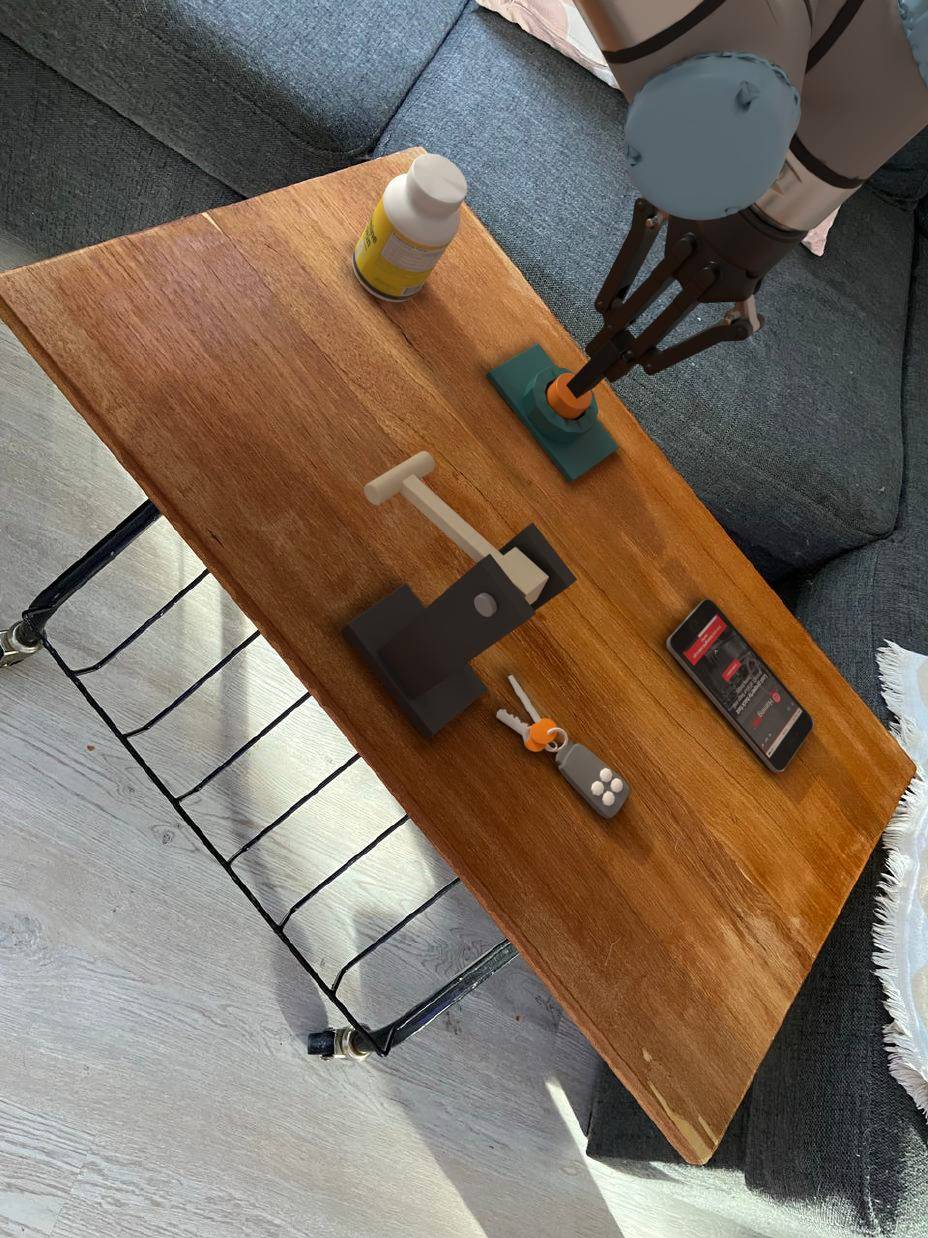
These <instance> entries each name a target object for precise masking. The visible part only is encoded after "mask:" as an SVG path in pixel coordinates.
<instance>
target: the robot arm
mask: <svg viewBox="0 0 928 1238" xmlns="http://www.w3.org/2000/svg"><path fill="white" fill-rule="evenodd" d="M571 1H572V3H573V4H574V6H575V8H576V10H577V11H578V14H579V15H580V17H581V18H582V20H583V22H584V24H585V26H586V28H587V30H588V31H589V33H590V34H591V36H592V38H593V40H594V42H595V44H596V46H597V47H598V49H599V50H600V53H601V54H602V56H603V58H604V59H605V62H606V64H607V66H608V68H609V70H610V72H611V74H612V76H613V78H614V79H615V81H616V83H617V85H618V87H619V88H620V91H621V92H622V94H623V96H624V98H625V99H626V101H627V103H628V107H627V112H626V115H625V117H624V123H623V129H624V131H623V132H624V143H623V154H624V160H625V165H626V169H627V174H628V175H629V178H630V180H631V182H632V183H633V185H634V187H635V188H636V190H637V191H638V192H639V193H640V194H641V196H640V197H637V198H636V199H635V200H634V203H633V210H632V219H631V225H630V226H631V227H630V229H629V230H628V233H627V235H626V237H625V238H624V240H623V243H622V245H621V247H620V249H619V251H618V253H617V255H616V257H615V259H614V260H613V263H612V265H611V267H610V269H609V271H608V273H607V276H606V278H605V280H604V282H603V284H602V285H601V288H600V290H599V292H598V293H597V296H596V297H595V300H594V303H593V307H594V310H595V311H596V312H597V313H598V314H600V315H601V316H602V319H603V325H602V328H600V330H598V332H597V333H596V334H595V335H594V336H593V338H591V340H590V341H589V342H587V344H586V346H585V348H584V352H585V353H586V355H587V356H588V357H589V358H590V359H589V360H588V361H587V362H586V363H585V364H584V366H582V367H581V369H580V370H578V372H577V373H575V374H576V375H575V376H574V377H573V378H572V379H571V380H570V381H569V382H568V383H567V384H566V386H567V387H568V389H569V390H570V391H571V392H572V394H573V395H574V396H575V398H576V399H577V398H579V397H580V396H582V395H584V394H585V393H587V392H588V391H590V390H593V389H594V388H596V387H597V386H598V385H599V384H600V383H601V382H602V381H603V380H604V379H605V378H606V380H607V381H608V382H609V383H610V384H612V383H615V382H617V381H619V380H620V379H622V378H623V377H625V376H626V375H627V374H628V373H629V372H630V371H631V370H632V369H634V367H636V365H639V366H641V367H642V369H643V371H644V373H645V374H646V375H647V376H650V377H651V376H652V377H653V376H655V375H656V374H658V373H661V372H662V371H665V370H666V369H668V368H670V367H673V366H675V365H677V364H679V363H681V362H684V361H685V360H687V359H689V358H691V357H693V356H695V355H698V354H700V353H702V352H703V351H705V350H707V349H709V348H712V347H714V346H716V345H718V344H720V343H724V342H725V343H726V342H742V341H745V340H747V339H748V338H750V337H751V336H752V335H754V334H755V333H757V332H758V331H760V330H761V329H762V328H764V326H765V324H766V319H765V317H764V315H763V314H761V313H760V312H757V308H756V301H755V295H756V294H757V293H758V292H759V291H760V290H761V288H762V285H763V282H764V279H765V277H766V275H767V274H768V273H769V272H770V271H771V270H772V269H773V268H774V267H776V266H777V265H778V264H779V263H780V262H781V261H782V260H783V259H784V258H786V256H788V254H789V253H791V252H792V251H793V250H794V249H795V248H796V247H797V246H798V245H799V244H800V243H801V242H802V241H804V239H806V237H807V236H808V235H809V233H810V231H812V230H814V229H816V228H818V227H819V226H820V225H821V224H822V223H823V222H824V221H825V220H826V219H827V218H828V217H830V216H831V215H832V214H833V213H834V212H835V211H836V210H837V209H838V208H839V207H840V206H841V205H842V204H844V203H845V202H846V201H847V200H848V199H849V198H850V197H851V196H852V195H853V194H854V193H856V192H857V191H858V190H859V189H860V188H861V187H862V185H863V184H864V183H865V182H866V181H867V180H869V178H871V176H872V175H873V174H874V173H875V172H876V171H877V170H878V169H880V167H882V166H883V165H884V164H885V163H887V162H888V160H889V159H891V158H892V157H893V156H894V155H895V154H896V153H897V152H898V151H899V150H901V149H902V148H903V147H904V146H905V145H906V144H907V143H909V141H911V140H912V139H913V138H914V137H915V136H916V135H918V134H919V132H921V131H922V130H923V129H924V128H925V127H926V126H928V0H571ZM666 224H667V228H666V233H665V234H666V235H665V243H664V251H663V259H661V260H660V261H659V263H658V264H657V265H656V266H655V267H654V268H653V269H652V270H651V271H650V274H649V275H648V276H647V278H646V279H644V281H643V282H642V283H641V284H640V285H638V287H637V288H636V289H635V291H633V292H632V294H631V295H630V296H629V297H628V298H626V297H627V295H628V293H629V291H630V290H631V287H632V286H633V283H634V282H635V280H636V278H637V276H638V274H639V273H640V270H641V268H642V266H643V265H644V262H645V261H646V258H647V257H648V255H649V253H650V251H651V249H652V247H653V245H654V243H655V242H656V240H657V237H659V234H660V232H661V229H662V227H663V226H665V225H666ZM675 281H677V282H678V284H679V285H680V287H681V291H679V293H677V295H676V296H674V297H673V299H672V301H671V302H670V303H669V304H668V305H667V306H666V307H665V308H664V309H663V310H662V311H661V312H660V313H659V314H658V315H657V316H656V318H654V319H653V320H652V322H651V323H650V324H648V325H647V327H646V328H645V329H643V331H642V332H640V334H638V336H637V337H635V335H634V334H633V333H632V332H631V331H630V329H629V327H631V326H632V325H634V324H636V323H638V319H639V318H640V317H641V316H642V315H643V314H644V313H645V312H646V311H647V310H648V309H649V308H650V307H651V306H652V305H653V304H654V303H655V302H656V301H657V300H658V299H659V298H660V297H661V295H663V293H664V292H666V290H667V289H668V288H669V287H670V286H671V285H672V284H673V283H674V282H675ZM625 299H626V300H625ZM723 303H734V306H733V307H732V308H730V309H729V310H727V311H726V312H725V313H724V317H723V319H721V320H720V321H717V322H715V323H714V324H712V325H710V326H708V327H706V328H704V329H702V330H700V331H698V332H696V333H694V334H691V335H690V336H688V337H686V338H684V339H682V340H681V341H678V342H677V343H674V344H673V345H670V346H668V347H667V348H665V349H663V350H662V349H660V348H658V347H657V346H658V345H659V344H660V343H661V342H662V341H664V339H665V338H666V337H667V336H668V335H670V334H671V332H672V331H673V330H675V329H676V327H678V326H679V325H680V324H681V323H682V322H683V321H684V320H685V319H686V317H688V316H689V315H690V314H692V312H693V311H694V310H695V309H696V308H697V307H698V306H699V305H700V304H723Z"/></svg>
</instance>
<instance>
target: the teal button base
mask: <svg viewBox="0 0 928 1238" xmlns="http://www.w3.org/2000/svg"><path fill="white" fill-rule="evenodd" d="M565 373H572V374H575V375H576V374H577V373H575V372H573V371H571V370H570V369H568V368H567V367H562V366H561V367H559V366H557V365H556V364H555V362H554V361H553V360H552V359H551V357H550V356H549V355H548V354H547V352H546V351H545V349H544V348H543V347H542V346H541V344H540V343H536V344H535V345H533V346H531V347H529V348H528V349H526V350H524V351H522V352H520V353H519V354H516V355H515V356H513V357H511V358H509V359H508V360H506V361H504V362H503V363H501V364H499V365H497V366H495V367H494V368H492V369H490V370H488V372H487V373H486V374H485V377H486V378H487V380H488V381H489V382H490V383H491V384H492V386H493V387H494V388H495V389H496V391H497V392H498V393H499V395H500V397H501V398H502V399H503V400H504V402H506V404H507V405H508V406H509V408H510V409H511V410H512V411H513V413H514V414H515V415H516V417H517V418H518V419H519V420H520V422H521V423H522V424H523V426H524V427H525V429H526V430H527V431H528V433H530V435H531V436H532V437H533V439H534V440H535V441H536V443H537V445H539V446H540V448H541V449H542V450H543V451H544V453H545V454H546V456H547V457H548V458H549V459H550V461H551V462H552V464H554V465H555V467H556V469H557V470H558V471H559V472H560V474H561V475H562V476H563V477H564V479H565V481H567V482H568V484H572V483H573V482H574V481H575V480H578V478H580V477H582V476H583V475H584V474H586V473H587V472H588V471H589V470H591V469H593V468H594V467H596V466H597V465H598V464H599V463H601V462H602V461H604V460H605V459H606V458H607V457H609V456H610V455H612V454H613V453H615V452H616V451H617V450H618V449H619V448H620V446H619V445H618V444H617V443H616V441H615V440H614V438H613V437H612V436H611V435H610V434H609V432H608V431H607V430H606V428H605V427H604V426H603V424H602V423H601V422H600V420H599V419H598V418H597V417H598V413H599V407H598V403H597V398H596V396H595V392H594V391H593V389H591V394H592V401H591V404H590V405H589V406H588V407H587V408H586V409H585V410H584V411H583V412H582V413H581V414H580V415H579V416H578V417H577V418H575V419H565V418H562V417H560V416H559V415H557V414H556V413H555V412H554V411H553V410H552V408H551V407H550V406H549V404H548V401H547V390H548V388H549V387H550V386H551V385H552V384H553V383H554V382H555V380H556V379H557V378H558V377H559V376H560V375H562V374H565Z"/></svg>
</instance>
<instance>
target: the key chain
mask: <svg viewBox="0 0 928 1238" xmlns="http://www.w3.org/2000/svg"><path fill="white" fill-rule="evenodd" d="M507 678H508V681H509V682H510V684H511V686H512V688H513V690H514V693H515V694H516V696H517V697H518V699H520V701H521V703H522V705H523V708H524V709H525V710H526V712H528V714H529V715H530V717H531V719H532V720H533V722H534V723H533V724H532V725H531V726H530V725H529V724H528V723H527V722H521V720H520V718H519V717H518V716H514V714H512V713H510V714H509V713H507V709H505V708H503V709H502V708H500V709H499V710H498V711H496V716H495V717H496V719H498V720H499V721H501V722H502V723H503V724H505V725H507V726H508V727H510V728H511V729H512V730H514V731H515V732H516V733H518V734H519V735H521V736H522V740H523V745H524V747H525V748H526V749H527V750H528V751H531V752H533V753H537V752H542V751H543V750H546V751H548V752H550V753H551V752H552V753H557V754H556V755H555V763H557V764H558V771H559V772H560V773H561V775H562V776H563V778H565V780H566V781H567V782H568V783H569V784H570V785H571V786H572V787H573V788H574V790H575V791H576V792H577V793H578V794H579V795H580V796H581V798H583V799H584V800H585V801H586V803H588V805H589V806H591V808H592V809H593V810H594V811H595V812H596V813H597V814H598V815H599V816H600V817H603V818H604V819H606V820H607V819H611V818H612V817H615V816H616V815H617V814H618V812H619V811H620V810H621V808H622V806H623V805H624V803H625V801H626V799H627V798H628V796H629V793H630V786H629V785H628V783H627V782H626V780H625V779H624V778H622V776H620V775H619V774H618V773H617V772H615V770H613V769H612V768H611V767H610V766H609V765H608V764H606V763H605V762H604V761H602V759H601V758H599V756H597V755H596V754H594V753H593V752H592V750H590V749H589V748H588V747H586V746H585V745H583V744H581V743H579V742H578V743H574V742H573V741H569V737H568V733H567V732H566V731H565V730H564V729H562V728H560V727H557V724H556V723H555V722H554V720H553V719H550V718H549V717H548V718H547V717H546V718H541V716H540V714H539V713H538V712H537V710H536V709H535V707H533V705H532V703H531V701H530V698H528V696H527V694H526V693H525V691H523V689H522V687H521V685H520V684H519V683H518V681H517V679H516V678H515V677H514V675H513V674H511V675H509V676H507ZM558 732H559V733H560V734H562V736H563V738H564V741H563V744H562V745H561V746H560V747H558V744H557V742H556V741H555V738H556V737H557V735H558ZM549 743H553V744H554V745H555V746H554V747H552V746H550V744H549Z"/></svg>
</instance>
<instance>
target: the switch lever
mask: <svg viewBox="0 0 928 1238" xmlns="http://www.w3.org/2000/svg"><path fill="white" fill-rule="evenodd" d="M435 469H436V463H435V459H434V457H433V456H432V455H431V453H429V452H428V451H426V450H422V451H419V452H417V453H416V454H414V455H412V456H411V457H409V458H408V459H406V460H404V461H403V462H401V463H399V464H397V465H396V466H394V467H393V468H391V469H389V470H387V471H386V472H384V473H382V474H381V475H380V476H377V477H376V478H375V479H373V480H371V481H369V482H367V483H366V484H365V485H364V487H363V493H364V496H365V498H366V499H367V501H368V502H370V503H371V504H372V505H374V506H379V505H380V504H382V503H384V502H386V501H387V500H389V499H390V498H392V497H394V496H395V495H397V494H399V493H400V494H401V495H402V496H403V497H404V498H405V499H406V500H407V501H408V502H410V503H411V504H412V505H413V506H414V507H415V508H416V509H417V510H418V511H419V512H421V513H422V514H423V515H424V516H425V517H426V518H427V519H428V520H429V521H430V522H431V523H433V524H434V525H435V526H436V527H437V528H438V529H439V530H440V531H441V532H442V533H443V534H445V535H446V536H447V537H448V538H449V539H450V540H451V541H452V542H453V543H454V544H456V545H457V546H458V547H459V548H460V549H461V550H462V551H463V552H464V553H465V554H466V555H468V556H469V557H470V558H471V559H472V560H473V561H474V562H475V564H476V563H478V562H479V561H480V560H481V559H483V558H484V557H486V556H487V555H488V554H491V555H492V556H493V558H494V559H495V560H496V562H497V563H498V564H499V565H500V567H501V568H502V569H503V571H504V572H505V573H506V574H507V576H508V577H509V578H510V580H511V581H512V582H513V584H514V585H515V586H516V587H517V589H518V590H519V591H520V593H521V594H522V595H523V596H524V598H525V599H526V600H527V602H528V603H529V604H530V605H531V604H532V603H533V602H534V601H536V600H537V598H538V596H539V595H540V593H541V591H542V589H543V587H544V585H545V584H546V582H547V580H548V578H549V576H547V575H546V574H545V573H544V572H543V571H542V570H541V569H540V568H539V567H537V566H536V565H535V564H534V563H533V562H532V561H531V560H530V559H529V558H527V557H526V556H525V555H524V554H523V553H522V552H521V551H520V550H519V549H517V548H516V547H515V548H513V549H512V550H511V551H509V552H508V553H506V554H505V555H504V556H503V555H502V554H501V553H500V552H499V551H498V550H499V549H497V548H496V547H494V546H493V545H492V544H491V543H490V542H489V541H488V540H486V539H485V537H483V536H482V535H481V534H480V533H479V532H478V531H477V530H476V529H474V527H472V526H471V525H470V524H469V523H468V522H467V521H466V520H464V519H463V518H462V517H461V515H459V514H458V513H457V512H455V510H454V509H452V508H451V507H450V506H449V505H448V504H447V503H446V502H444V500H443V499H441V498H440V496H438V495H437V494H436V493H435V492H433V491H432V489H430V488H429V487H428V486H427V485H426V484H425V483H424V482H423V481H422V480H420V479H422V478H424V477H426V476H427V475H428V474H430V473H431V472H434V470H435Z"/></svg>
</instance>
